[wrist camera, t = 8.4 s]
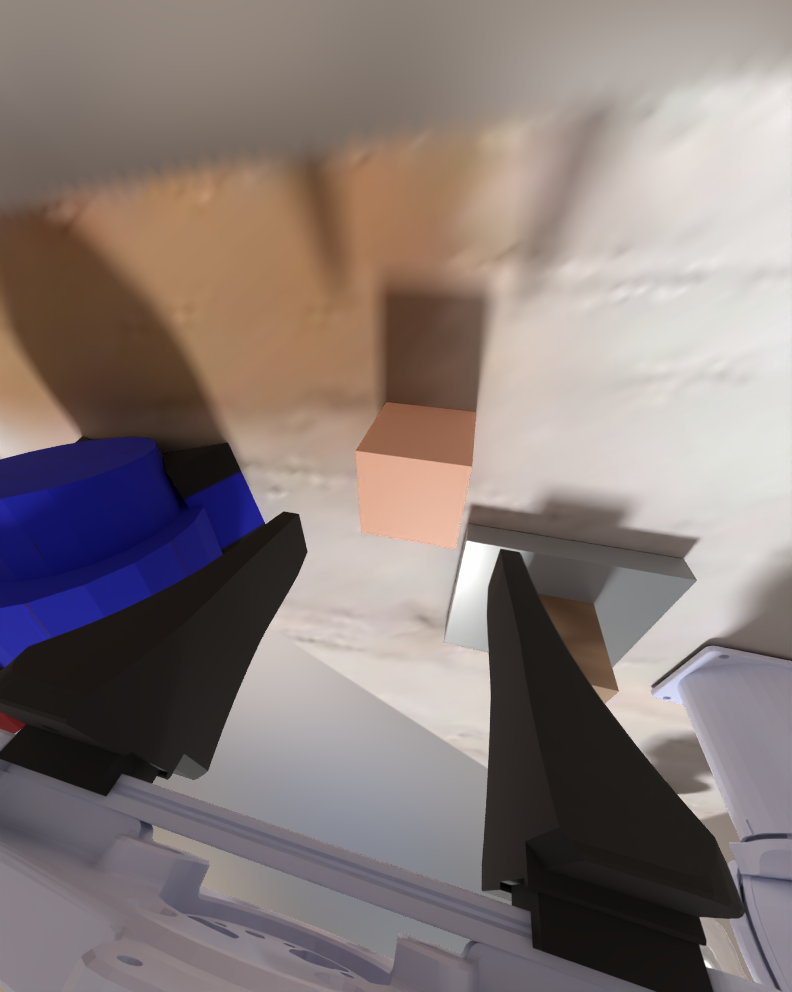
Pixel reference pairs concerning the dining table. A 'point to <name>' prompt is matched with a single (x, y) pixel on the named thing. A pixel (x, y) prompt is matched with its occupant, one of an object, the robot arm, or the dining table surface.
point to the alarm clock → (108, 531)
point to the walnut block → (583, 641)
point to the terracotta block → (415, 473)
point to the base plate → (568, 584)
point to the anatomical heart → (719, 949)
